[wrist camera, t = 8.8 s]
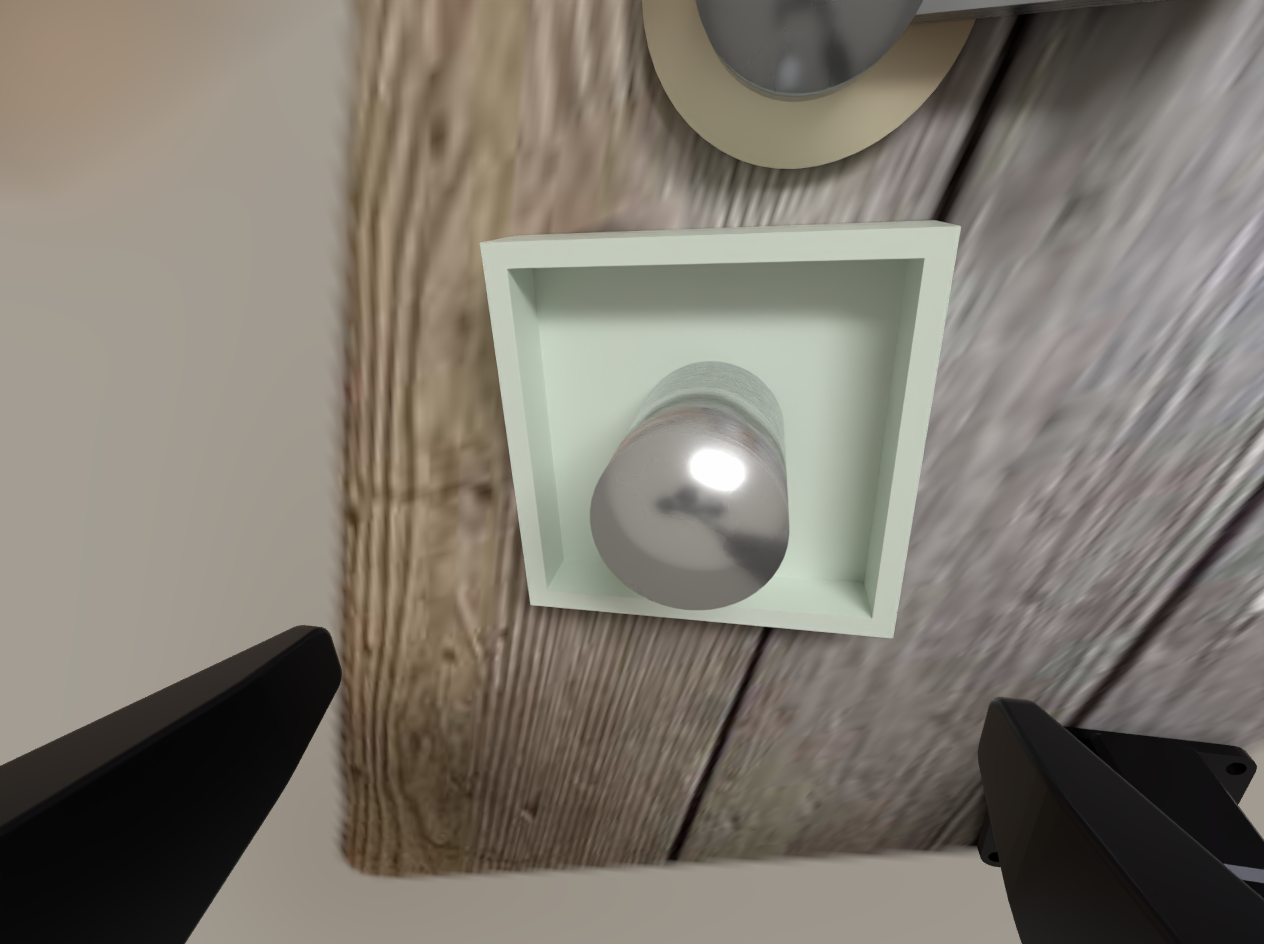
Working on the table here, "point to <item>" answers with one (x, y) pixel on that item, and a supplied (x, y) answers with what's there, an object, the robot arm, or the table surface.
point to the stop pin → (697, 491)
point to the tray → (746, 337)
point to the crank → (834, 36)
